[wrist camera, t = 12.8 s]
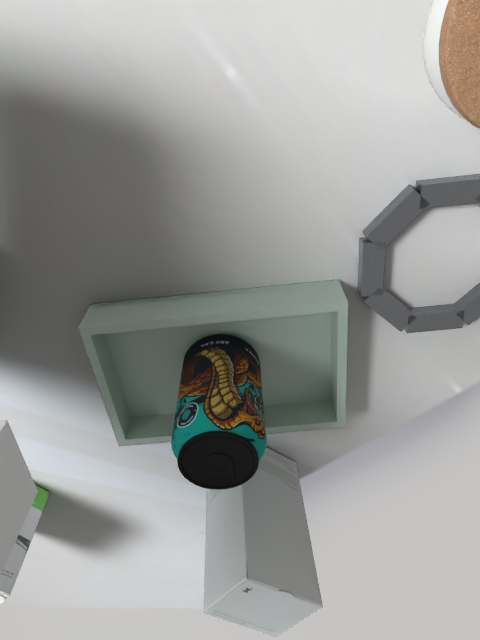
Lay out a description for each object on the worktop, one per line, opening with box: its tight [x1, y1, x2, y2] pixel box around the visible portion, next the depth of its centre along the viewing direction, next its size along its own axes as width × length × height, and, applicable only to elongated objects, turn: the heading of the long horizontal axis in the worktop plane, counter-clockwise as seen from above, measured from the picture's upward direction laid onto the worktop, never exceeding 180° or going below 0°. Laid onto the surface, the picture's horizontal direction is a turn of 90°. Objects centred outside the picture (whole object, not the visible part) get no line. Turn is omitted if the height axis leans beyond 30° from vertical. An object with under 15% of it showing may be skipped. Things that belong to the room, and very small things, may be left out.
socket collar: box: [358, 174, 480, 333], centre depth 38 cm, size 13×13×1 cm
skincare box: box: [204, 447, 323, 637], centre depth 44 cm, size 8×7×16 cm
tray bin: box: [78, 280, 348, 446], centre depth 42 cm, size 22×14×4 cm, turn 96°
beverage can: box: [171, 334, 266, 490], centre depth 37 cm, size 7×7×12 cm
